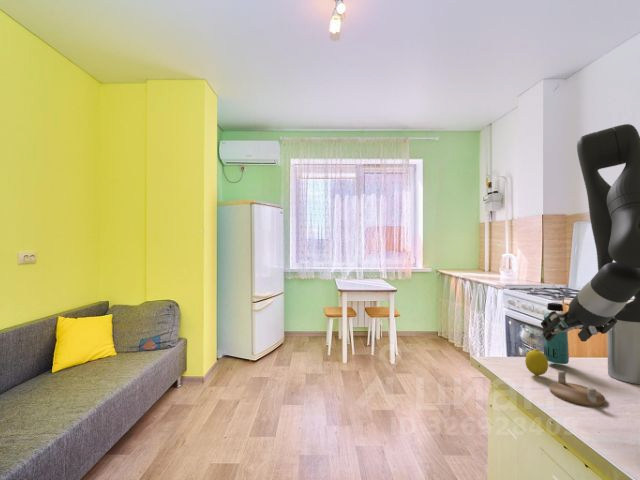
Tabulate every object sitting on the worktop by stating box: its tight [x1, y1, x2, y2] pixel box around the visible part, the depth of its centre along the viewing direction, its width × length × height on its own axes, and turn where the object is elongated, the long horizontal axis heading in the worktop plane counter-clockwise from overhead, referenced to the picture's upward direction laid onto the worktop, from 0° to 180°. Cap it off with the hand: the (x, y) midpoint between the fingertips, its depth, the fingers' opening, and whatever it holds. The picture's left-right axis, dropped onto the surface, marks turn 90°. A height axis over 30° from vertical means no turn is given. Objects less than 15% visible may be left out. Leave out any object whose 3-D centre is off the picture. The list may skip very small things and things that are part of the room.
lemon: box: [524, 348, 549, 377], centre depth 92 cm, size 6×6×8 cm
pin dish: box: [549, 370, 606, 407], centre depth 80 cm, size 11×11×4 cm
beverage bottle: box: [543, 302, 570, 365], centre depth 101 cm, size 6×7×20 cm
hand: (563, 338), depth 81 cm, fingers open, 8 cm apart
